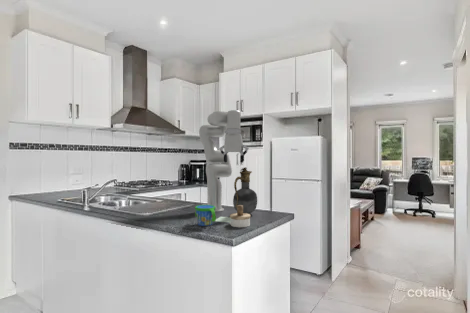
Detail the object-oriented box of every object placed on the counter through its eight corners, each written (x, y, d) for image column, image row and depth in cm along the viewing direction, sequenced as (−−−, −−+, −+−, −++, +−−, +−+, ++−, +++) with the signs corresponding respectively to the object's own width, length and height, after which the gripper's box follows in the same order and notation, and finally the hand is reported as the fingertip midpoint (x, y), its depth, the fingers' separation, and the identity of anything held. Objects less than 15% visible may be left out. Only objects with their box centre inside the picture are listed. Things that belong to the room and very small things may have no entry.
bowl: (228, 227, 152) (228, 218, 152) (234, 222, 162) (234, 214, 161) (246, 228, 149) (246, 220, 149) (251, 224, 158) (251, 216, 158)
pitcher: (259, 214, 183) (259, 166, 183) (242, 220, 168) (242, 168, 167) (244, 212, 190) (244, 166, 189) (227, 218, 174) (227, 167, 174)
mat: (212, 222, 163) (212, 221, 163) (220, 217, 175) (220, 216, 175) (233, 223, 160) (233, 222, 160) (239, 219, 171) (239, 218, 171)
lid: (226, 218, 152) (226, 206, 152) (233, 214, 162) (233, 203, 162) (247, 220, 148) (247, 208, 148) (252, 215, 159) (252, 204, 159)
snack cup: (221, 226, 153) (221, 207, 153) (204, 230, 147) (204, 209, 147) (206, 221, 166) (206, 203, 166) (189, 223, 159) (189, 205, 159)
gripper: (217, 132, 166) (217, 162, 166) (246, 131, 160) (246, 162, 160) (222, 133, 173) (222, 162, 173) (250, 132, 167) (250, 162, 167)
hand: (233, 162), depth 167 cm, fingers open, 9 cm apart
